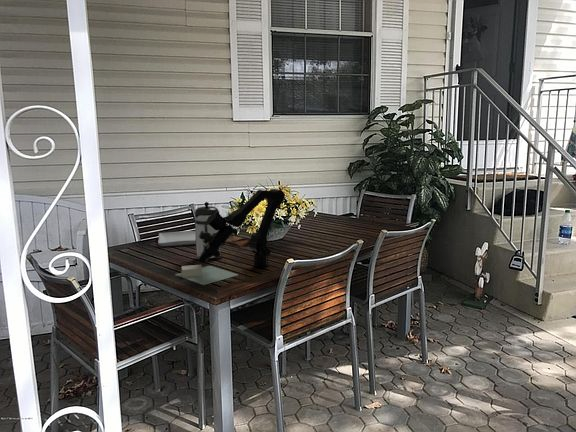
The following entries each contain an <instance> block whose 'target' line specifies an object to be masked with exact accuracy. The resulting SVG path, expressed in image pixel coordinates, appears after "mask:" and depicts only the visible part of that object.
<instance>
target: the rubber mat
mask: <svg viewBox="0 0 576 432" xmlns="http://www.w3.org/2000/svg"><path fill="white" fill-rule="evenodd" d="M202 268H203V276H192V277H183V276H182V272H180V273H175V274H174V275H175V276H178V277H180V278H183V279H186V280H189V281H191V282H194V283H197V284H200V285H202V286H205V285H208V284H212V283H215V282H219V281H222V280H225V279H229V278H233V277H236V276H239V274H238V273H235V272H232V271H229V270H226V269H222V268H219V267H216V266H212V265H206V266H202Z"/></svg>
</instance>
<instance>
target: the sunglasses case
mask: <svg viewBox="0 0 576 432" xmlns="http://www.w3.org/2000/svg"><path fill="white" fill-rule="evenodd" d="M249 241H250V239H249V238H245V237H244V238H243V237H241V236H237V235H233V234H232V235H231V236H230V237H229V238H228V239H227V241H226V243H225V244H228V245H233V246H237V247H238V248H239V247H240V248H244V247H250V246H249V244H250V242H249Z"/></svg>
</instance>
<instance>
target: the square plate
mask: <svg viewBox="0 0 576 432" xmlns="http://www.w3.org/2000/svg"><path fill="white" fill-rule="evenodd" d="M157 243H158V245H159V246H161V247H175V246H176V247H177V246H189V245H191V246H192V245H196V235H195V230H184V231H182V230H181V231H172V232H171V231H169V232H159V233H158V240H157Z"/></svg>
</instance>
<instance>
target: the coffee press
mask: <svg viewBox="0 0 576 432" xmlns="http://www.w3.org/2000/svg"><path fill="white" fill-rule="evenodd" d="M215 212H218V213H219V214H220V210H219V209H218V208H217V207H215V206H210V204H209V202H208V201H205V202H204V206H200V207H197V208H196V209H195V210H194V213H193V214H194V231H195V235H196V244H195V255H194V259H195V260H198V259H199V257H200V255H201V253H202V252H203V250H204V247H203V244H204V245H206V243H204V242H203V240H204V239H200V238H199V235H200V233H201V230H202V231H205V232H208V233H210V234H212V235H213V234H214V233H217V232H218V231H219V230H214V229H213V228H212V227H211V226H210V225H209V224H208V223H207V219H208V217H209V216H211V215H212V214H214V213H215ZM225 224H226V225H227V223H225ZM226 241H227V240H226ZM226 241H225V242H226ZM225 245H226V243H225V244H222V246H221V247H223V246H225ZM221 247H220V248H219V252H220V256H219V257H218V258H219V259H223V258H224V256H223V255H222V252H221ZM196 255H197V257H196ZM215 258H216V257H215V256H212V257H210V258H207V259H205V263H208V262H209V260H210V259H215Z"/></svg>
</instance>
